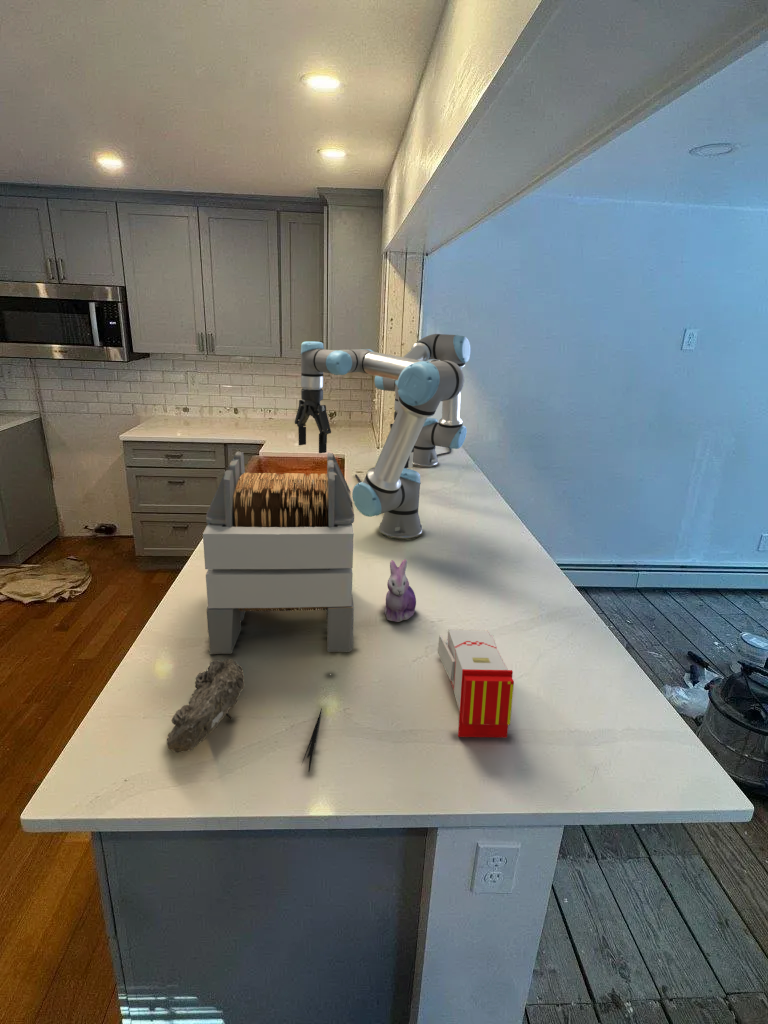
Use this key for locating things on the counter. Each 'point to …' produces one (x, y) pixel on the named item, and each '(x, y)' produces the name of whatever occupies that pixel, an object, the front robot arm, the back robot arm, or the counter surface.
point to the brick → (410, 461)
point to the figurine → (399, 594)
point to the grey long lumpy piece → (206, 705)
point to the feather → (313, 740)
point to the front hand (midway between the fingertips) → (312, 448)
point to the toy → (478, 682)
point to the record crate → (279, 550)
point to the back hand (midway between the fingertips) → (400, 466)
